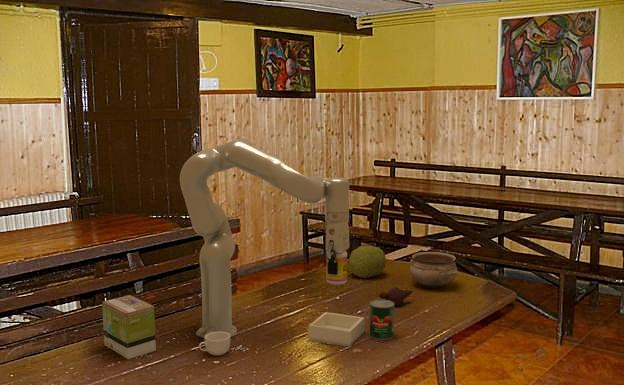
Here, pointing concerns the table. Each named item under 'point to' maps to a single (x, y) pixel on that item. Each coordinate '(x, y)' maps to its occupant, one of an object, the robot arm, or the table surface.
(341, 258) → the supplement bottle
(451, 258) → the cooking pot
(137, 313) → the tea box
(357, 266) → the fruit
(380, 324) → the canned tomato
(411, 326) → the table surface
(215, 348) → the teacup
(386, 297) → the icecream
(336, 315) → the tub
